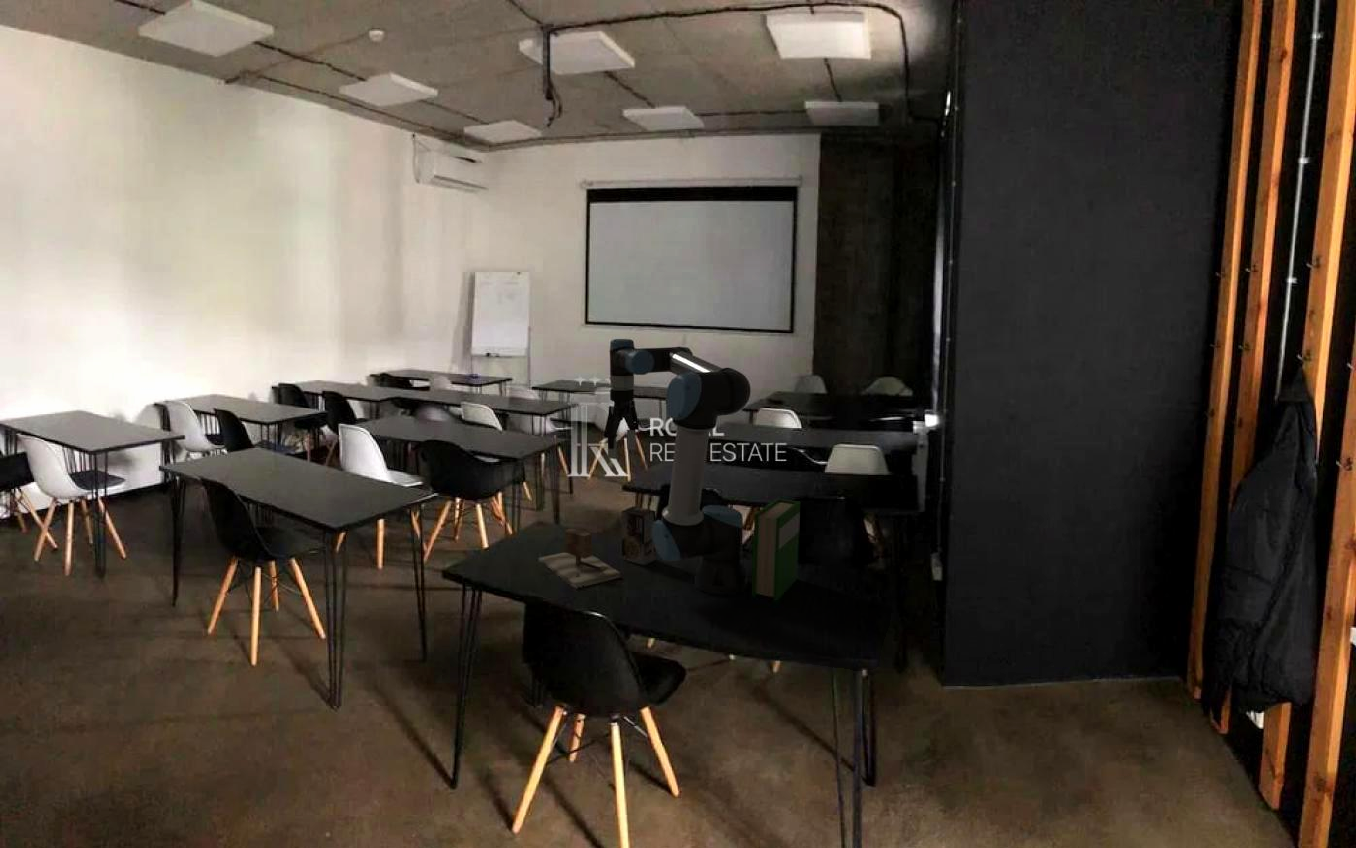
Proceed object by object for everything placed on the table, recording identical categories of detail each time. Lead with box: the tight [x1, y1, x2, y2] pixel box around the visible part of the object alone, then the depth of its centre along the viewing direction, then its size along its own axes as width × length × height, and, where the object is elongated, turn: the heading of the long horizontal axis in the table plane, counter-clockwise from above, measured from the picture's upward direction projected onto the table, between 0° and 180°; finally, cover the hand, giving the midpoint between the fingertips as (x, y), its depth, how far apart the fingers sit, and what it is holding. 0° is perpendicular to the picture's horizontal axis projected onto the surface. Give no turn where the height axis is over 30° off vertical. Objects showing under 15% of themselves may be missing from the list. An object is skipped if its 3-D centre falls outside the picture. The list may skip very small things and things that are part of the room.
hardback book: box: [751, 497, 801, 602], centre depth 220 cm, size 18×7×24 cm, turn 153°
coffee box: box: [620, 506, 656, 566], centre depth 241 cm, size 9×6×16 cm
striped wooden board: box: [538, 551, 621, 589], centre depth 233 cm, size 24×15×2 cm, turn 36°
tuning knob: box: [564, 528, 601, 570], centre depth 231 cm, size 12×3×10 cm, turn 55°
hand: (622, 453), depth 247 cm, fingers open, 13 cm apart
